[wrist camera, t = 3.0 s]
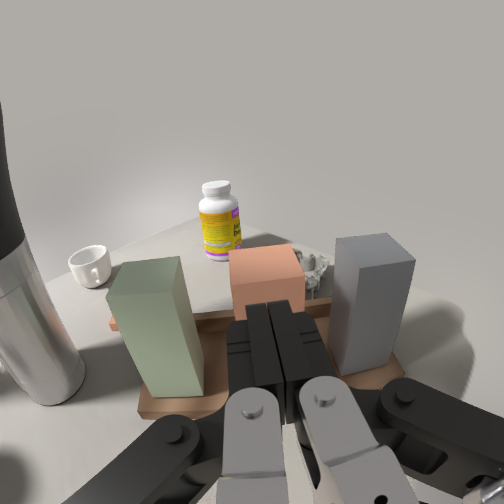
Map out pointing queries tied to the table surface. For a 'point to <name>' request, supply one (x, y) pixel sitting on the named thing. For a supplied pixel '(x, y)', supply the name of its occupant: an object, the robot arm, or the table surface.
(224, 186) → the supplement bottle
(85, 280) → the teacup
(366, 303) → the charcoal block
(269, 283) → the terracotta block
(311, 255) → the egg carton
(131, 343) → the sage block
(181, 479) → the robot arm
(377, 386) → the walnut tray
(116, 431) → the table surface
